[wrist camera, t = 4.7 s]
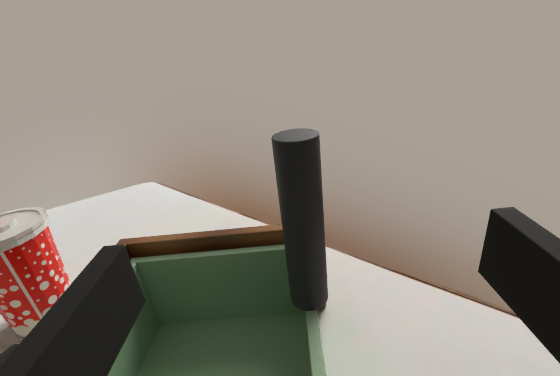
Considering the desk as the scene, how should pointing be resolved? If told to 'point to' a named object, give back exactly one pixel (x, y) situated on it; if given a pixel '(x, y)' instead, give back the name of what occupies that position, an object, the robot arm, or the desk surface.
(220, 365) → the green open box
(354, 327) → the desk surface
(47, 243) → the beverage cup
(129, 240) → the wooden drawer casing
